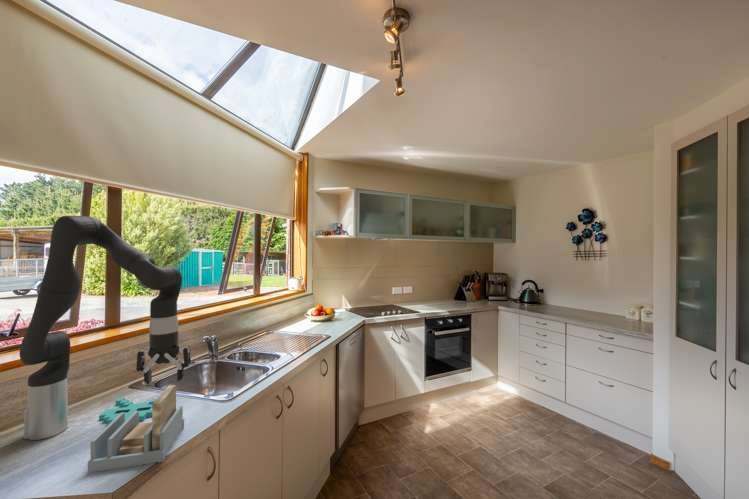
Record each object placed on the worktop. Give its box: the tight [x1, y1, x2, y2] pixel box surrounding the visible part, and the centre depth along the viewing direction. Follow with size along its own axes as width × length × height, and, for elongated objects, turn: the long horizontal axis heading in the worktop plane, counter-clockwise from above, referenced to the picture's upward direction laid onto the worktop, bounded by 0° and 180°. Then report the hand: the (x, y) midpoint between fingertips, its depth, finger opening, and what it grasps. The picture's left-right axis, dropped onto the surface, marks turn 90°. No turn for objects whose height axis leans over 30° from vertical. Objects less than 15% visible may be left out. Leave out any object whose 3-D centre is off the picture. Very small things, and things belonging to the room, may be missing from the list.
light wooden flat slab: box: [151, 384, 177, 451], centre depth 99 cm, size 2×13×16 cm, turn 14°
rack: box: [87, 405, 185, 474], centre depth 97 cm, size 18×18×8 cm
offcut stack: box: [119, 421, 152, 456], centre depth 97 cm, size 6×12×5 cm, turn 9°
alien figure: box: [98, 397, 157, 426], centre depth 119 cm, size 20×2×20 cm
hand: (164, 381), depth 99 cm, fingers open, 8 cm apart
